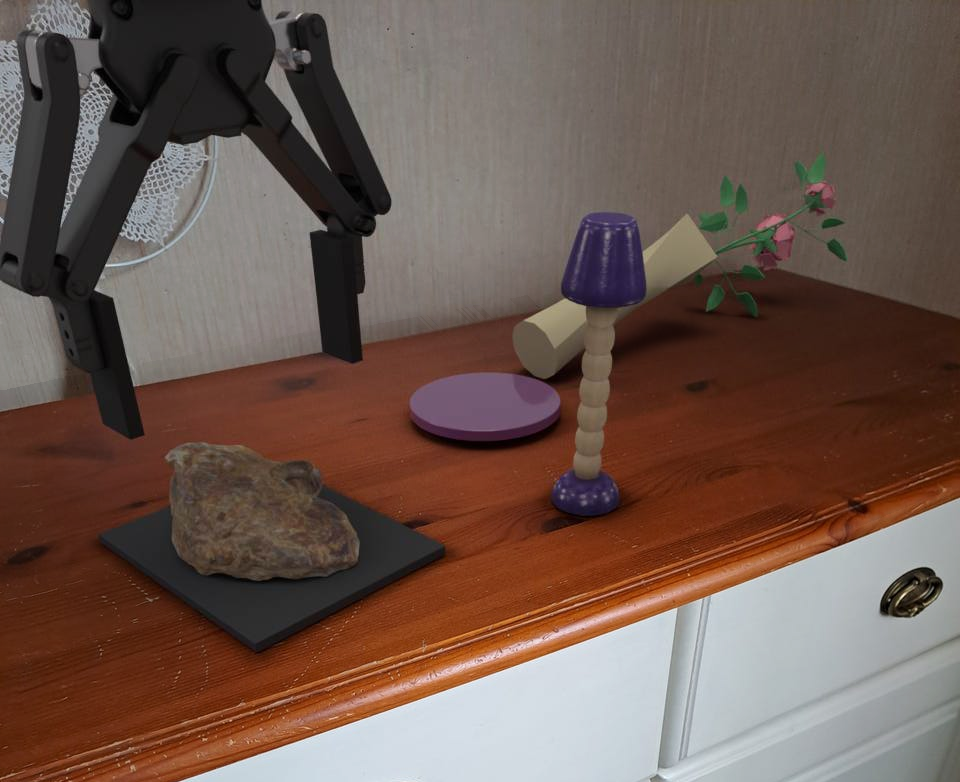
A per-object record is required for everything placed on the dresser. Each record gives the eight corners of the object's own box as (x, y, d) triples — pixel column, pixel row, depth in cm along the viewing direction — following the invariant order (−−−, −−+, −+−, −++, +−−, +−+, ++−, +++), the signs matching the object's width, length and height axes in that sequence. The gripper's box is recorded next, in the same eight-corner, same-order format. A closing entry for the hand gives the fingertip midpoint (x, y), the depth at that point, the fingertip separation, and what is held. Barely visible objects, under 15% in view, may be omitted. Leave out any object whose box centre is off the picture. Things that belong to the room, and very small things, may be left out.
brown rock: (205, 611, 50) (186, 528, 47) (153, 510, 59) (135, 434, 56) (375, 565, 54) (368, 484, 51) (302, 476, 63) (292, 403, 60)
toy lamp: (623, 484, 62) (644, 205, 52) (633, 519, 58) (659, 226, 49) (548, 485, 62) (556, 207, 52) (554, 521, 58) (564, 228, 49)
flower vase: (524, 445, 85) (765, 274, 99) (622, 450, 75) (874, 260, 89) (473, 316, 79) (736, 154, 93) (572, 304, 70) (848, 125, 83)
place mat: (100, 542, 57) (97, 533, 57) (280, 470, 65) (279, 462, 64) (256, 653, 48) (254, 643, 48) (445, 554, 56) (445, 545, 55)
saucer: (379, 419, 71) (378, 401, 70) (484, 378, 78) (483, 361, 77) (486, 464, 65) (486, 444, 64) (591, 415, 71) (592, 397, 70)
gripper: (-147, -136, 29) (47, 494, 42) (450, -121, 43) (460, 346, 56) (-222, -127, 33) (-25, 443, 46) (344, -116, 48) (375, 317, 60)
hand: (241, 390), depth 51 cm, fingers open, 13 cm apart
